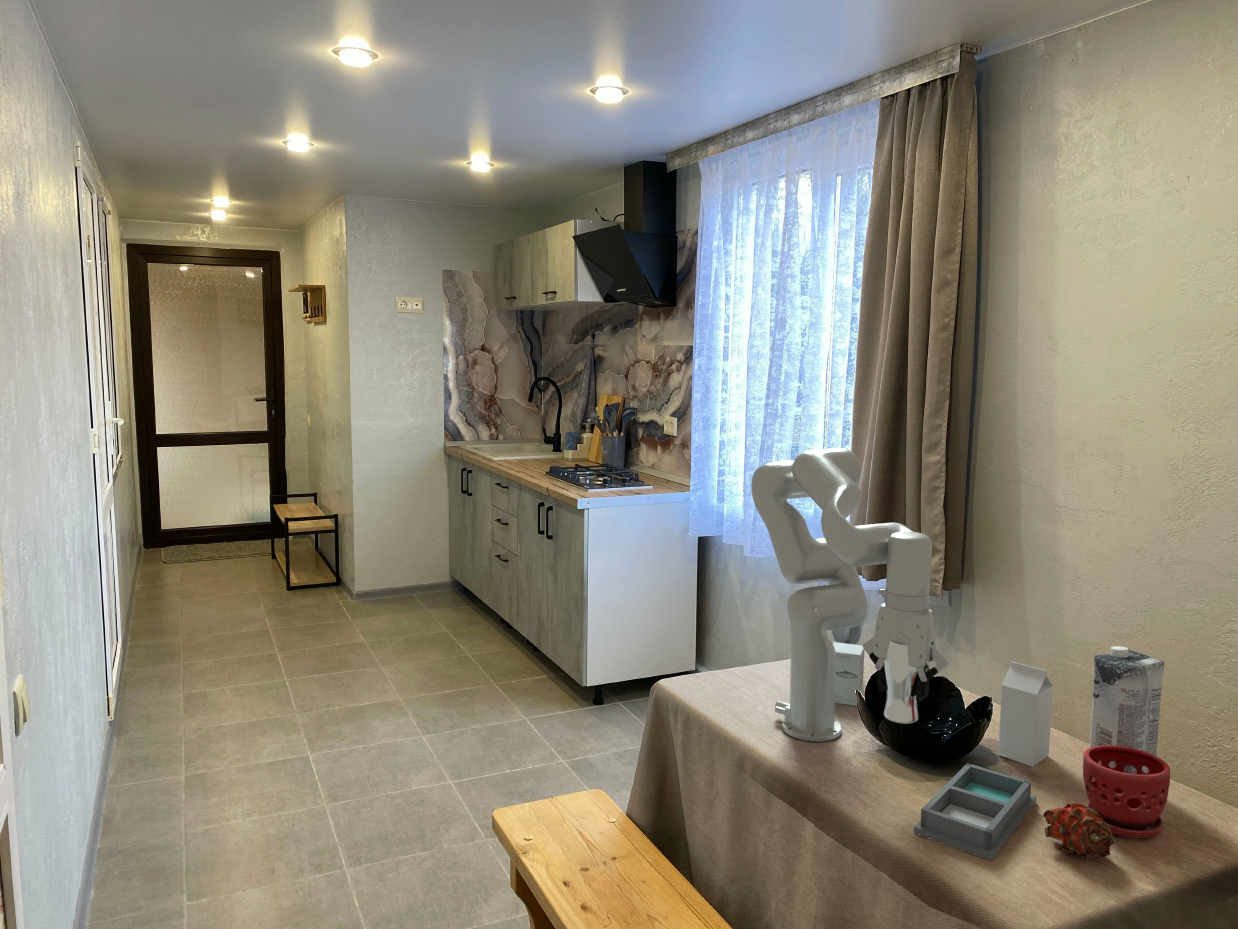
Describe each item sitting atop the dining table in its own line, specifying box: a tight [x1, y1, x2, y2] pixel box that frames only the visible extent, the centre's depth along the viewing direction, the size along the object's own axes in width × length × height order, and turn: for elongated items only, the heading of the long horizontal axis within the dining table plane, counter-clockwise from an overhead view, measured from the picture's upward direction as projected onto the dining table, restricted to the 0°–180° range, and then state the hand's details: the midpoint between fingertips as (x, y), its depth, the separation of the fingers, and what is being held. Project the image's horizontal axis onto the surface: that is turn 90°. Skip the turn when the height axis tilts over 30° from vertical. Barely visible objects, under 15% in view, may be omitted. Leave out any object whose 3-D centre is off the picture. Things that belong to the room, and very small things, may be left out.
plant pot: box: [1082, 745, 1171, 839], centre depth 156 cm, size 13×13×12 cm
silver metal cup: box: [883, 641, 920, 725], centre depth 165 cm, size 7×7×15 cm
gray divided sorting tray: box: [913, 762, 1037, 862], centre depth 158 cm, size 13×24×4 cm, turn 140°
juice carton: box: [1088, 645, 1166, 780], centre depth 166 cm, size 9×10×27 cm
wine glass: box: [830, 622, 864, 645], centre depth 225 cm, size 8×8×15 cm
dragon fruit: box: [1042, 801, 1116, 859], centre depth 148 cm, size 8×8×12 cm
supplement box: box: [832, 641, 866, 707], centre depth 211 cm, size 7×7×13 cm
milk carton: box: [997, 661, 1054, 767], centre depth 181 cm, size 7×7×19 cm
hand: (902, 693), depth 166 cm, fingers closed on silver metal cup, 6 cm apart
